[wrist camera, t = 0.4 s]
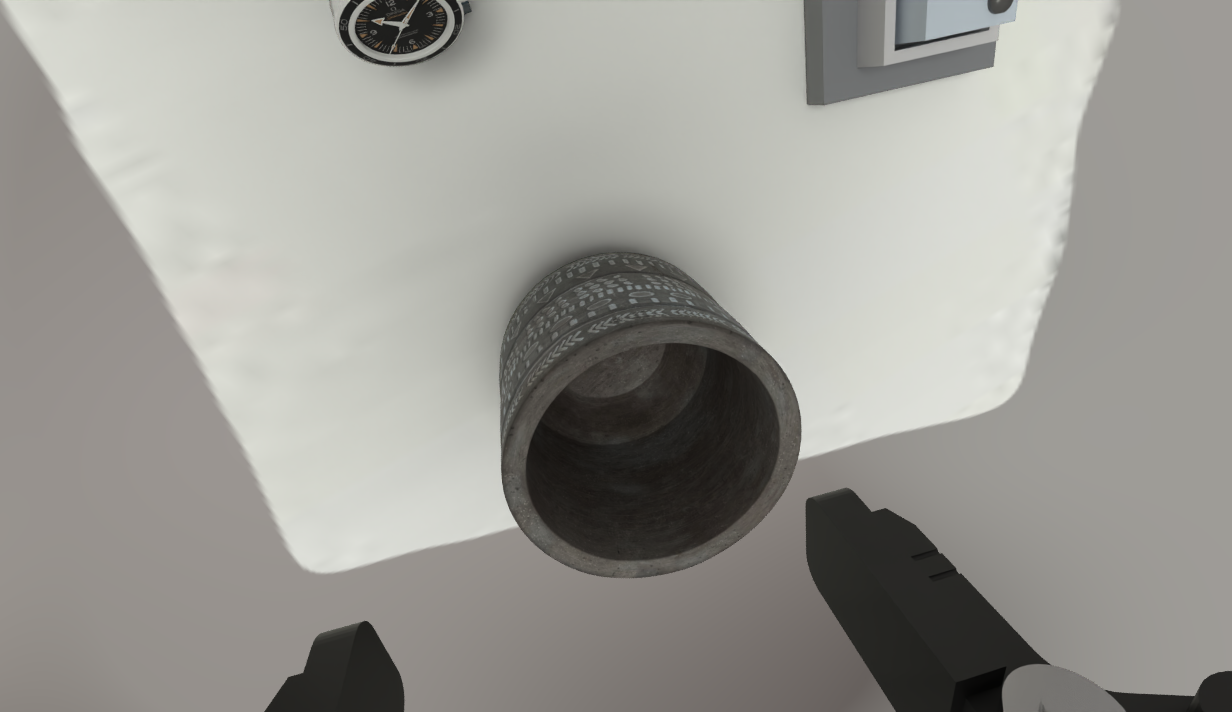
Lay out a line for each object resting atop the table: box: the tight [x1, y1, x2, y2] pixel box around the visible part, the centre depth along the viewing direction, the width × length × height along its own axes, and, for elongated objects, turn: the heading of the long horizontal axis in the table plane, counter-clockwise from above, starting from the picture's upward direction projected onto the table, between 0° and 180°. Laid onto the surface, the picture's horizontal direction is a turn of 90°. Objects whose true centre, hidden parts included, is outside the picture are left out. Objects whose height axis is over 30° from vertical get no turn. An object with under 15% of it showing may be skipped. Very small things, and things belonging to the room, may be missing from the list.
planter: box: [499, 252, 801, 578], centre depth 32 cm, size 14×14×15 cm
